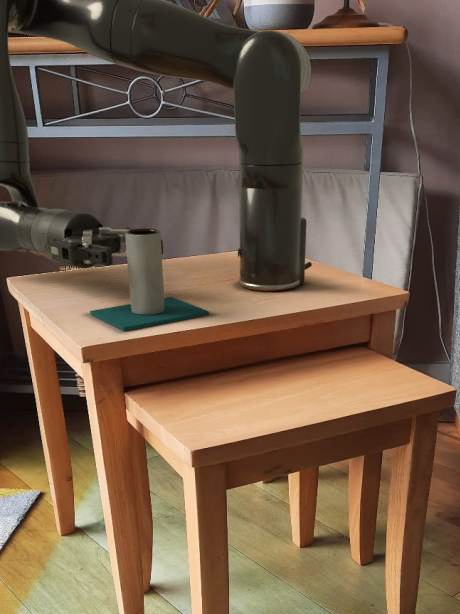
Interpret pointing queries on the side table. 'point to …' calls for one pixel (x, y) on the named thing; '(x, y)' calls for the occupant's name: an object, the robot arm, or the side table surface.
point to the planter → (145, 271)
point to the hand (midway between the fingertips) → (136, 252)
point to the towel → (129, 320)
